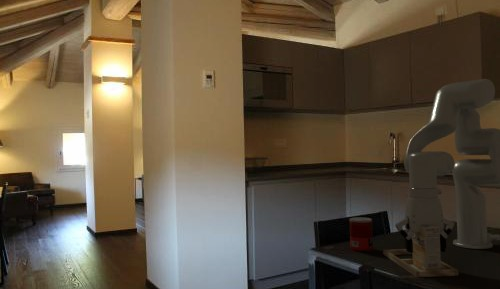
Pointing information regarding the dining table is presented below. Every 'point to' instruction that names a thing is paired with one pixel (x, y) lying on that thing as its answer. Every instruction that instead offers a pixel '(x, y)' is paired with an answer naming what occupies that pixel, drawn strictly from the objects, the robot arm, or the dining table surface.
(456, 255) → the dining table surface
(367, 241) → the canned food
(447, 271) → the wooden divided tray
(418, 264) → the supplement box
